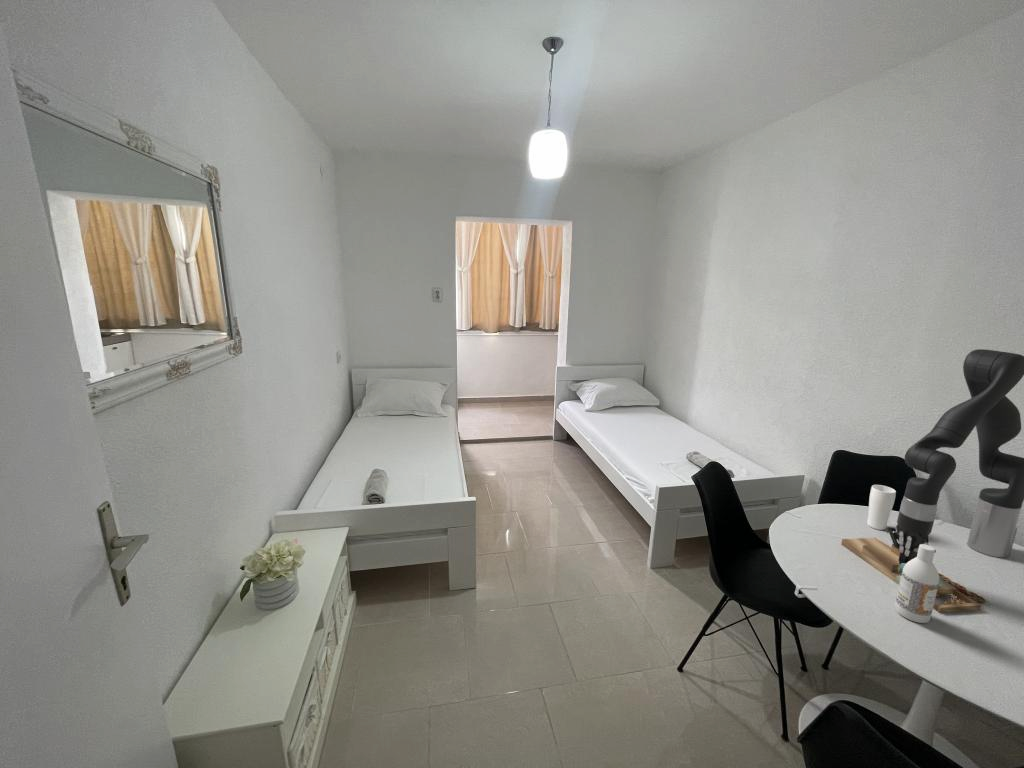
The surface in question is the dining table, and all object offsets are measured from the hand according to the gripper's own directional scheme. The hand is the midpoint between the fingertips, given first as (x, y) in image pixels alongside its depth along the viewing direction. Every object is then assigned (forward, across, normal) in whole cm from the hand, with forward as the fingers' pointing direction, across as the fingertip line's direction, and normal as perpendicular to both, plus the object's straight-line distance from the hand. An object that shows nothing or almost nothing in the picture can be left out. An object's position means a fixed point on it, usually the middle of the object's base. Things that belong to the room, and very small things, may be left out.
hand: (904, 565), depth 129 cm
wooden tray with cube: (+3, 0, 0) cm, 3 cm away
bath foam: (+3, -16, +14) cm, 21 cm away
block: (+1, -5, 0) cm, 5 cm away
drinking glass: (+4, +25, -16) cm, 30 cm away
